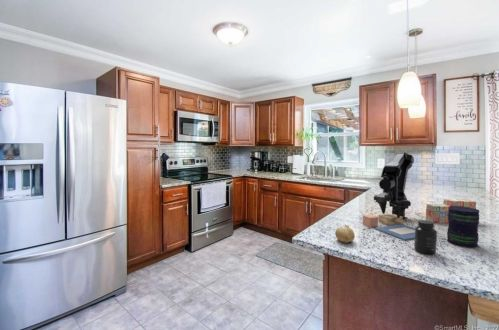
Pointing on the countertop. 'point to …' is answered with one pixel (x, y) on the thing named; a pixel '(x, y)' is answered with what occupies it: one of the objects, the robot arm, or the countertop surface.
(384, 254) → the countertop surface
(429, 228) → the supplement bottle
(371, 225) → the terracotta cube
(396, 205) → the robot arm
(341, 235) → the onion
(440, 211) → the stack of blocks
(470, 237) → the storage jar
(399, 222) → the oak brick
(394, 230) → the board
